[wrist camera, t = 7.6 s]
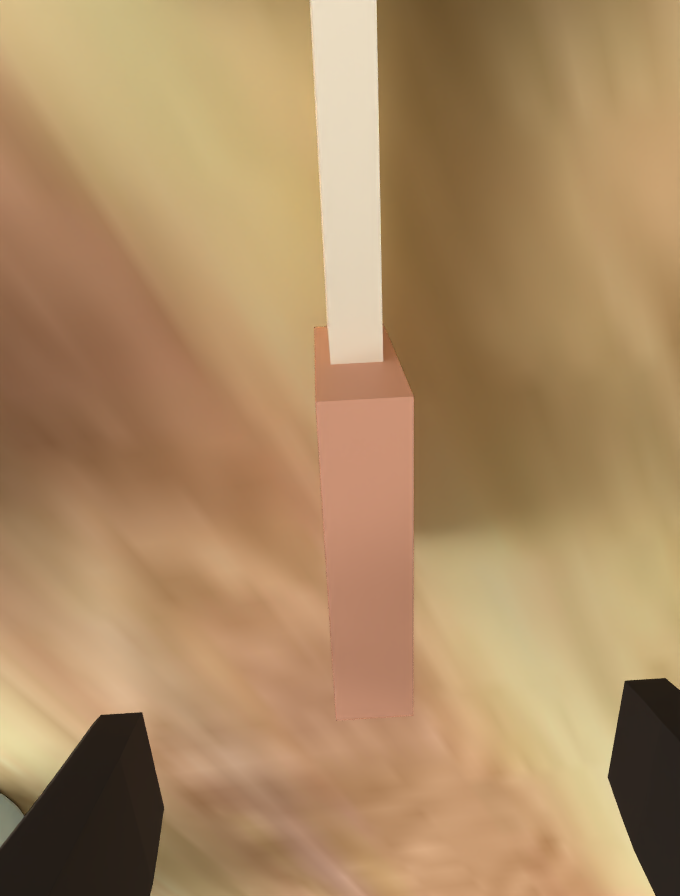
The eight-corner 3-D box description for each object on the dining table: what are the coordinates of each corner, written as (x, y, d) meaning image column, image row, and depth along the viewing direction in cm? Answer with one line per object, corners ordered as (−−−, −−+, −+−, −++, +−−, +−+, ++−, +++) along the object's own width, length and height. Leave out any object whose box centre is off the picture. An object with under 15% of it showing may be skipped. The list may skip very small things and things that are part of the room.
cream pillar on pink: (386, 569, 18) (413, 715, 13) (329, 573, 18) (336, 720, 13) (366, -522, 10) (416, -1132, 5) (261, -519, 10) (215, -1129, 5)
